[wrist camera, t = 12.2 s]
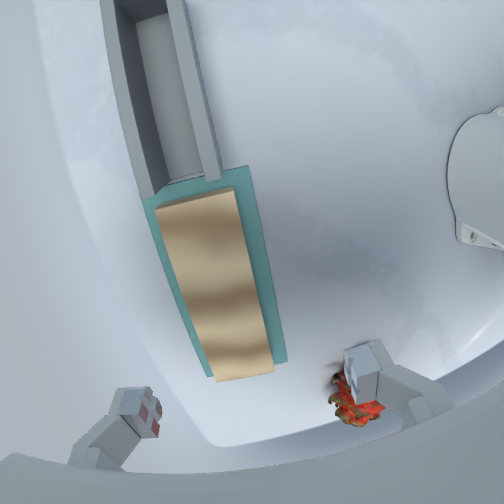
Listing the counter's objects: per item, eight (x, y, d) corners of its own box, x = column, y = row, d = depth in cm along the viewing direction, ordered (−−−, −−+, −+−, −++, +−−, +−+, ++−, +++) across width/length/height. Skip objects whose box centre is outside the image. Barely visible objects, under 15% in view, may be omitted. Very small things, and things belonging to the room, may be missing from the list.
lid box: (222, 165, 26) (221, 178, 20) (161, 181, 26) (141, 199, 20) (186, 4, 20) (175, -30, 13) (126, 22, 20) (99, -4, 13)
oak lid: (271, 354, 34) (275, 371, 32) (216, 365, 34) (216, 382, 32) (232, 184, 26) (233, 190, 24) (161, 202, 26) (154, 210, 24)
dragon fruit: (337, 395, 42) (348, 329, 39) (389, 407, 38) (408, 340, 35) (317, 432, 35) (327, 363, 32) (376, 447, 31) (400, 378, 28)
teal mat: (287, 359, 35) (287, 361, 35) (207, 374, 35) (207, 377, 35) (248, 165, 26) (248, 166, 26) (140, 192, 26) (139, 193, 26)
